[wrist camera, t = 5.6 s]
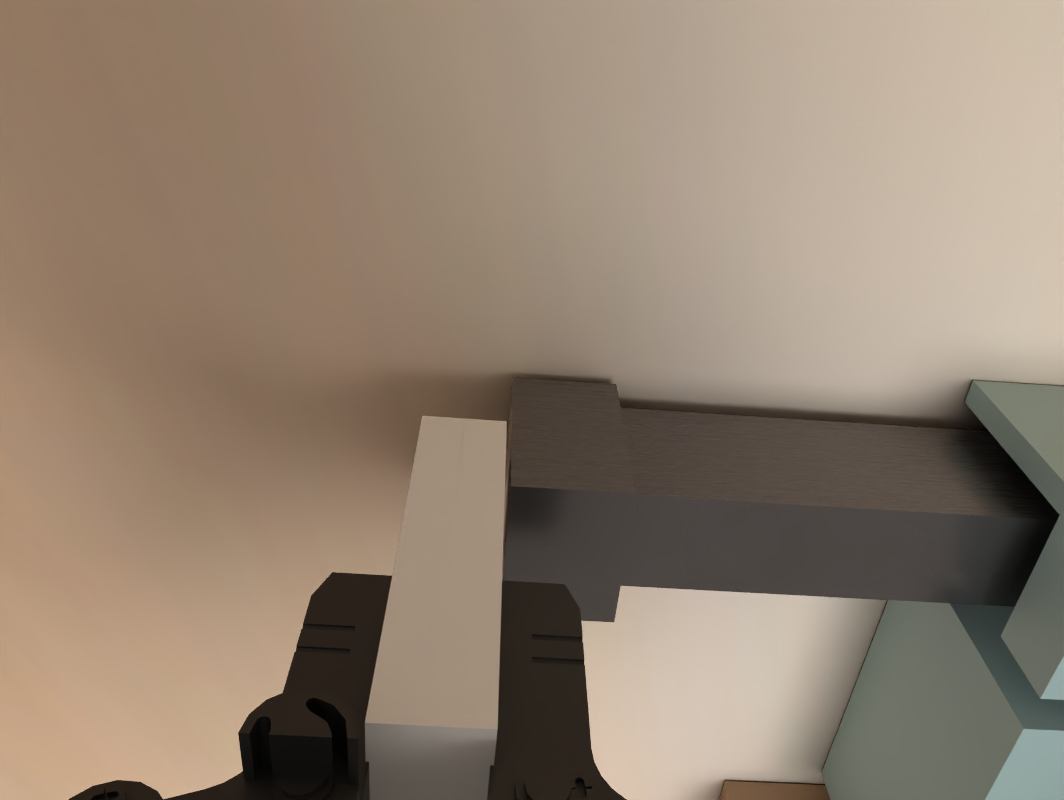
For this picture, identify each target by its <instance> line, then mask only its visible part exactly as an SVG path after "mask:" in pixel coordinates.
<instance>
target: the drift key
mask: <svg viewBox="0 0 1064 800" xmlns="http://www.w3.org/2000/svg"><path fill="white" fill-rule="evenodd" d="M1059 516H1060V515H1059V514H1058V512H1057V511H1056V510H1055V509H1054V508H1053V506H1052V505H1051V504H1050V503H1049V502H1048V500H1047V499H1046V498H1045V497H1044V496H1043V495H1042V493H1041V492H1040V491H1039V490H1038V489H1037V487H1036V486H1035V485H1034V484H1033V483H1032V482H1031V480H1030V479H1029V478H1028V477H1027V476H1026V474H1025V473H1024V472H1023V471H1022V470H1021V468H1020V467H1019V466H1018V465H1017V464H1016V463H1015V461H1014V460H1013V459H1012V458H1011V457H1010V455H1009V454H1008V453H1007V452H1006V451H1005V450H1004V448H1003V447H1002V446H1001V445H1000V444H999V442H998V441H997V440H996V439H995V438H994V436H993V435H992V434H991V433H990V432H989V431H976V430H960V429H945V428H929V427H913V426H898V425H882V424H867V423H851V422H835V421H820V420H804V419H788V418H773V417H757V416H741V415H726V414H710V413H695V412H679V411H663V410H648V409H632V408H621V407H620V402H619V397H618V391H617V386H616V384H603V383H588V382H573V381H557V380H542V379H527V378H513V382H512V395H511V407H510V420H509V433H508V445H507V458H506V471H505V497H504V531H503V564H502V580H505V581H522V582H538V583H555V584H565V585H566V587H567V588H568V590H569V592H570V593H571V595H572V596H573V598H574V600H575V601H576V603H577V605H578V606H579V608H580V612H581V620H583V621H602V622H614V619H615V614H616V608H617V602H618V596H619V591H620V586H639V587H657V588H676V589H694V590H713V591H731V592H750V593H768V594H787V595H805V596H824V597H842V598H861V599H879V600H898V601H916V602H935V603H953V604H972V605H990V606H1009V607H1015V606H1016V604H1017V602H1018V600H1019V598H1020V596H1021V593H1022V591H1023V589H1024V587H1025V585H1026V583H1027V581H1028V579H1029V577H1030V575H1031V573H1032V571H1033V569H1034V567H1035V565H1036V563H1037V561H1038V559H1039V557H1040V555H1041V552H1042V550H1043V548H1044V546H1045V544H1046V542H1047V540H1048V538H1049V536H1050V534H1051V532H1052V530H1053V528H1054V526H1055V524H1056V522H1057V520H1058V518H1059Z"/></svg>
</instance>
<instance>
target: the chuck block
mask: <svg viewBox="0 0 1064 800" xmlns="http://www.w3.org/2000/svg"><path fill="white" fill-rule="evenodd" d="M965 403H966V404H967V406H968V407H969V408H970V409H971V410H972V412H973V413H974V414H975V415H976V416H977V417H978V419H979V420H980V421H981V422H982V423H983V425H984V426H985V427H986V428H987V429H988V431H989V432H990V433H991V434H992V435H993V436H994V438H995V439H996V440H997V441H998V442H999V444H1000V445H1001V446H1002V447H1003V448H1004V450H1005V451H1006V452H1007V453H1008V454H1009V455H1010V457H1011V458H1012V459H1013V460H1014V461H1015V463H1016V464H1017V465H1018V466H1019V467H1020V468H1021V470H1022V471H1023V472H1024V473H1025V474H1026V476H1027V477H1028V478H1029V479H1030V480H1031V482H1032V483H1033V484H1034V485H1035V486H1036V487H1037V489H1038V490H1039V491H1040V492H1041V493H1042V495H1043V496H1044V497H1045V498H1046V499H1047V500H1048V502H1049V503H1050V504H1051V505H1052V506H1053V508H1054V509H1055V510H1056V511H1057V512H1058V514H1059V515H1060V516H1059V518H1058V520H1057V522H1056V524H1055V526H1054V528H1053V530H1052V532H1051V534H1050V536H1049V538H1048V540H1047V542H1046V544H1045V546H1044V548H1043V550H1042V552H1041V555H1040V557H1039V559H1038V561H1037V563H1036V565H1035V567H1034V569H1033V571H1032V573H1031V575H1030V577H1029V579H1028V581H1027V583H1026V585H1025V587H1024V589H1023V591H1022V593H1021V596H1020V598H1019V600H1018V602H1017V604H1016V606H1015V607H1009V606H990V605H972V604H953V603H935V602H916V601H898V600H888V602H887V604H886V607H885V610H884V612H883V615H882V617H881V620H880V622H879V625H878V628H877V630H876V633H875V635H874V638H873V641H872V643H871V646H870V648H869V651H868V654H867V656H866V659H865V661H864V664H863V667H862V669H861V672H860V674H859V677H858V679H857V682H856V685H855V687H854V690H853V692H852V695H851V698H850V700H849V703H848V705H847V708H846V711H845V713H844V716H843V718H842V721H841V724H840V726H839V729H838V731H837V734H836V736H835V739H834V742H833V744H832V747H831V749H830V752H829V755H828V757H827V760H826V762H825V765H824V768H823V770H822V776H823V779H824V782H825V785H826V788H827V791H828V794H829V797H830V800H1064V386H1051V385H1036V384H1021V383H1006V382H991V381H976V380H973V382H972V384H971V387H970V389H969V392H968V395H967V397H966V400H965Z"/></svg>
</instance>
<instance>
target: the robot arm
mask: <svg viewBox="0 0 1064 800" xmlns="http://www.w3.org/2000/svg"><path fill="white" fill-rule="evenodd" d="M506 431H507V421H494V420H479V419H465V418H450V417H436V416H422V420H421V425H420V431H419V436H418V441H417V447H416V452H415V457H414V463H413V468H412V473H411V479H410V484H409V489H408V495H407V500H406V505H405V511H404V516H403V521H402V527H401V532H400V538H399V543H398V548H397V554H396V559H395V564H394V570H393V575H392V576H386V575H369V574H352V573H335V572H332V573H331V574H330V576H329V577H328V578H327V579H326V580H325V581H324V582H323V583H322V584H321V586H320V587H319V588H318V589H317V590H316V591H315V592H314V593H313V595H312V596H311V599H310V602H309V606H308V609H307V612H306V616H305V619H304V623H303V629H301V633H300V636H299V640H298V643H297V648H296V652H295V653H294V656H293V660H292V663H291V667H290V670H289V673H288V677H287V680H286V684H285V687H284V690H283V693H282V694H279V695H277V696H275V697H272V698H270V699H267V700H266V701H264V702H263V703H262V704H261V705H260V706H258V707H257V708H256V709H255V710H254V711H252V712H251V713H250V714H249V715H248V717H247V719H246V720H245V722H244V724H243V726H242V727H241V729H240V731H239V733H238V735H239V742H240V750H241V758H242V766H243V771H242V772H241V773H240V774H238V775H237V776H235V777H233V778H231V779H230V780H228V781H226V782H224V783H222V784H219V785H216V786H213V787H210V788H207V789H204V790H200V791H196V792H192V793H188V794H184V795H180V796H176V797H172V798H168V799H164V800H626V799H625V798H623V797H622V796H621V795H620V794H618V793H617V792H616V791H614V790H613V789H612V788H611V787H610V786H609V785H608V783H607V782H606V781H605V780H604V779H603V777H602V776H601V774H600V772H599V771H598V769H597V767H596V765H595V763H594V759H593V754H592V750H591V740H590V727H589V714H588V702H587V689H586V676H585V665H584V650H583V642H582V625H581V612H580V608H579V606H578V605H577V603H576V601H575V600H574V598H573V596H572V595H571V593H570V592H569V590H568V588H567V587H566V585H565V584H555V583H538V582H522V581H505V580H502V564H503V531H504V497H505V464H506ZM69 800H163V799H162V797H161V796H160V794H159V793H158V791H156V790H154V789H152V788H151V787H149V786H147V785H145V784H143V783H141V782H134V781H122V780H116V781H112V782H108V783H104V784H99V785H95V786H92V787H90V788H88V789H87V790H85V791H83V792H81V793H79V794H77V795H76V796H74V797H72V798H70V799H69Z"/></svg>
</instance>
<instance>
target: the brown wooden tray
mask: <svg viewBox="0 0 1064 800" xmlns="http://www.w3.org/2000/svg"><path fill="white" fill-rule="evenodd" d="M719 800H830V797H829V794H828V791H827V788H826V785H808V784H785V783H762V782H739V781H725V782H724V786H723V789H722V792H721V796H720V799H719Z"/></svg>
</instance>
